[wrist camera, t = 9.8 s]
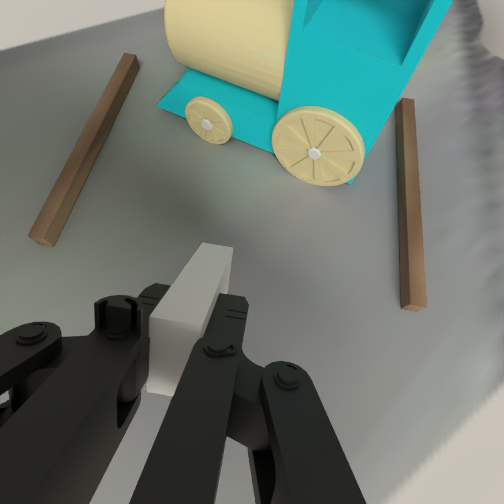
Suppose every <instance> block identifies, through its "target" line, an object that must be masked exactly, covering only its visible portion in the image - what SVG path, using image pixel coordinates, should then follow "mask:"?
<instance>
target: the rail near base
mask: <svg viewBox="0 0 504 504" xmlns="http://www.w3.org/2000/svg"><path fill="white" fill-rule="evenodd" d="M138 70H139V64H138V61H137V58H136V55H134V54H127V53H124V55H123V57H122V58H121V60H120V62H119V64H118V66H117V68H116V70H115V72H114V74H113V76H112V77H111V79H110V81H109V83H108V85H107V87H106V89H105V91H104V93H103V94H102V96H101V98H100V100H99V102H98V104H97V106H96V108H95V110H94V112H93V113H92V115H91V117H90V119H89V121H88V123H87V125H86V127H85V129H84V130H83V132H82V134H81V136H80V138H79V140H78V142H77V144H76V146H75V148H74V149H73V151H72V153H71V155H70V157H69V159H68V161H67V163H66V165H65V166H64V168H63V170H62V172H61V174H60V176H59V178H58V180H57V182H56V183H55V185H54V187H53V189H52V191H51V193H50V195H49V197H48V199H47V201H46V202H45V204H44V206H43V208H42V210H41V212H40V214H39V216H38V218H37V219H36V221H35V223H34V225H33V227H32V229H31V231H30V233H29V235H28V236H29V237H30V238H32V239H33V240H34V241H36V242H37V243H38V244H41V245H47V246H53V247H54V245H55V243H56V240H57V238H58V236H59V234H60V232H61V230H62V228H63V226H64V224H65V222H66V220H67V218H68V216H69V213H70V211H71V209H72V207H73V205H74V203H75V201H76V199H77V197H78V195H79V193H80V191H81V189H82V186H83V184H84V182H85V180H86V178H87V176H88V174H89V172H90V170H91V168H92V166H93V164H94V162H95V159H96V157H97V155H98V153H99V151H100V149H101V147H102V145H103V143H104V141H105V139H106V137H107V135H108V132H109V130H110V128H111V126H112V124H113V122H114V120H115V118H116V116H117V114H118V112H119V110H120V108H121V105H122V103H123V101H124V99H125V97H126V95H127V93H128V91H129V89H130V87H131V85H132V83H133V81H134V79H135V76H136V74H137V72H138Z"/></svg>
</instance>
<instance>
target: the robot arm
mask: <svg viewBox="0 0 504 504" xmlns="http://www.w3.org/2000/svg"><path fill="white" fill-rule="evenodd" d="M232 255H233V247H227V246H221V245H215V244H209V243H203V242H202V244H201V245H200V246H199V248H198V249H197V251H196V252H195V253H194V255H193V256H192V258H191V259H190V260H189V262H188V263H187V265H186V266H185V267H184V269H183V270H182V272H181V273H180V274H179V276H178V277H177V279H176V280H175V281H174V283H173V284H172V286H170V285H164V284H158V283H155V284H153V285H151V286H149V287H147V288H145V289H144V290H143V291H142V292H141V294H140V295H139V297H137V298H135V297H131V296H127V295H115V296H108V297H105V298H102V299H100V300H98V301H97V302H95V303H94V311H95V329H94V330H93V331H92V332H91V333H90V334H89V335H87V336H72V337H62V335H61V330H60V327H59V326H57V325H56V324H54V323H49V322H32V323H28V324H23V325H21V326H18V327H16V328H13V329H11V330H9V331H7V332H5V333H3V334H2V335H0V395H2V394H3V393H5V392H6V391H7V390H8V393H9V400H7V401H6V402H4V403H2V404H0V504H89V503H90V501H91V499H92V497H93V495H94V493H95V491H96V489H97V487H98V485H99V483H100V481H101V479H102V478H103V476H104V474H105V472H106V470H107V468H108V466H109V464H110V462H111V460H112V458H113V456H114V454H115V452H116V450H117V448H118V446H119V444H120V442H121V440H122V438H123V437H124V435H125V433H126V431H127V429H128V427H129V425H130V423H131V421H132V419H133V417H134V415H135V413H136V411H137V409H138V407H139V404H140V401H141V389H142V387H143V385H144V384H145V382H146V380H147V392H150V393H156V394H162V395H167V396H173V397H172V400H171V402H170V405H169V407H168V410H167V412H166V415H165V417H164V419H163V422H162V424H161V427H160V429H159V432H158V434H157V437H156V439H155V441H154V444H153V446H152V449H151V451H150V454H149V456H148V459H147V461H146V463H145V466H144V468H143V471H142V473H141V476H140V478H139V481H138V483H137V485H136V488H135V490H134V493H133V495H132V498H131V500H130V503H129V504H215V499H216V493H217V488H218V482H219V476H220V470H221V465H222V459H223V453H224V448H225V442H226V438H227V436H228V437H230V438H232V439H233V440H235V441H237V442H239V443H241V444H243V445H245V446H246V447H248V456H249V463H250V470H251V476H252V483H253V489H254V496H255V503H256V504H366V502H365V499H364V497H363V495H362V492H361V490H360V488H359V486H358V483H357V481H356V479H355V477H354V474H353V472H352V470H351V468H350V465H349V463H348V461H347V459H346V456H345V454H344V452H343V450H342V447H341V445H340V443H339V441H338V438H337V436H336V434H335V432H334V429H333V427H332V425H331V423H330V420H329V418H328V416H327V414H326V411H325V409H324V407H323V405H322V402H321V400H320V398H319V396H318V393H317V391H316V389H315V387H314V384H313V382H312V380H311V378H310V376H309V375H308V374H307V372H306V371H305V370H303V369H302V368H301V367H299V366H298V365H295V364H293V363H290V362H284V361H278V362H272V363H270V364H268V365H267V366H266V367H265V368H263V367H261V366H259V365H257V364H255V363H253V362H251V361H250V360H249V359H248V358H247V357H246V356H245V355H244V353H243V351H242V343H243V337H244V331H245V325H246V318H247V312H248V306H249V304H248V302H247V301H246V299H245V297H241V296H235V295H229V294H227V293H228V285H229V277H230V270H231V262H232Z"/></svg>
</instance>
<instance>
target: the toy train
mask: <svg viewBox="0 0 504 504" xmlns="http://www.w3.org/2000/svg"><path fill="white" fill-rule="evenodd" d="M452 1H453V0H165V5H164V24H165V33H166V38H167V42H168V46H169V48H170V51H171V53H172V55H173V56H174V58H175V59H176V60H177V61H178V62H179V63H180V64H182V65H184V66H187V67H189V68H188V69H187V70H186V72H185V73H184V74H183V75H182V76H181V77H180V79H179V80H178V81H177V82H176V83H175V84H174V85H173V87H172V88H171V89H170V90H169V91H168V92H167V94H166V95H165V96H164V97H163V98H162V99H161V101H160V102H159V103H158V104H157V105H156V106H157V107H159V108H162V109H164V110H167V111H169V112H171V113H174V114H176V115H179V116H181V117H184V118H186V119H187V122H188V124H189V125H190V127H191V128H192V130H193V131H194V132H195V133H196V134H197V135H198V136H199V137H201V138H202V139H203V140H205V141H207V142H210V143H213V144H224V143H226V142H227V141H228V140H229V139H230V137H234V138H236V139H239V140H241V141H244V142H246V143H249V144H251V145H254V146H256V147H259V148H261V149H263V150H266V151H268V152H271V153H273V154H275V155H276V157H277V159H278V161H279V162H280V163H281V165H282V166H283V167H284V168H285V169H286V170H287V171H288V172H290V173H291V174H292V175H294V176H295V177H297V178H299V179H301V180H303V181H305V182H308V183H310V184H314V185H318V186H336V185H340V184H343V183H348V184H352V182H353V180H354V178H355V177H356V175H357V173H358V172H359V171H360V169H361V166H362V164H363V162H364V160H365V158H366V157H367V155H368V153H369V151H370V149H371V148H372V146H373V144H374V142H375V140H376V139H377V137H378V135H379V133H380V131H381V130H382V128H383V126H384V124H385V122H386V121H387V119H388V117H389V115H390V113H391V112H392V110H393V108H394V106H395V104H396V103H397V101H398V99H399V97H400V95H401V93H402V92H403V90H404V88H405V86H406V84H407V83H408V81H409V79H410V77H411V75H412V74H413V72H414V70H415V68H416V66H417V65H418V63H419V61H420V59H421V57H422V56H423V54H424V52H425V50H426V48H427V47H428V45H429V43H430V41H431V39H432V38H433V36H434V34H435V32H436V30H437V28H438V27H439V25H440V23H441V21H442V19H443V18H444V16H445V14H446V12H447V10H448V9H449V7H450V5H451V3H452Z"/></svg>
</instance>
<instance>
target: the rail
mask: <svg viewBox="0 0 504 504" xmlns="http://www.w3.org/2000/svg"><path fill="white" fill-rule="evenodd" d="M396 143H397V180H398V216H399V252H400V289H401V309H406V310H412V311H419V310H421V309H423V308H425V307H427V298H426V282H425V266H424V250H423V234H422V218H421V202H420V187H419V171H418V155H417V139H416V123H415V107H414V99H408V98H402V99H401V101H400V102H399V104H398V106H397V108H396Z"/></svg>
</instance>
